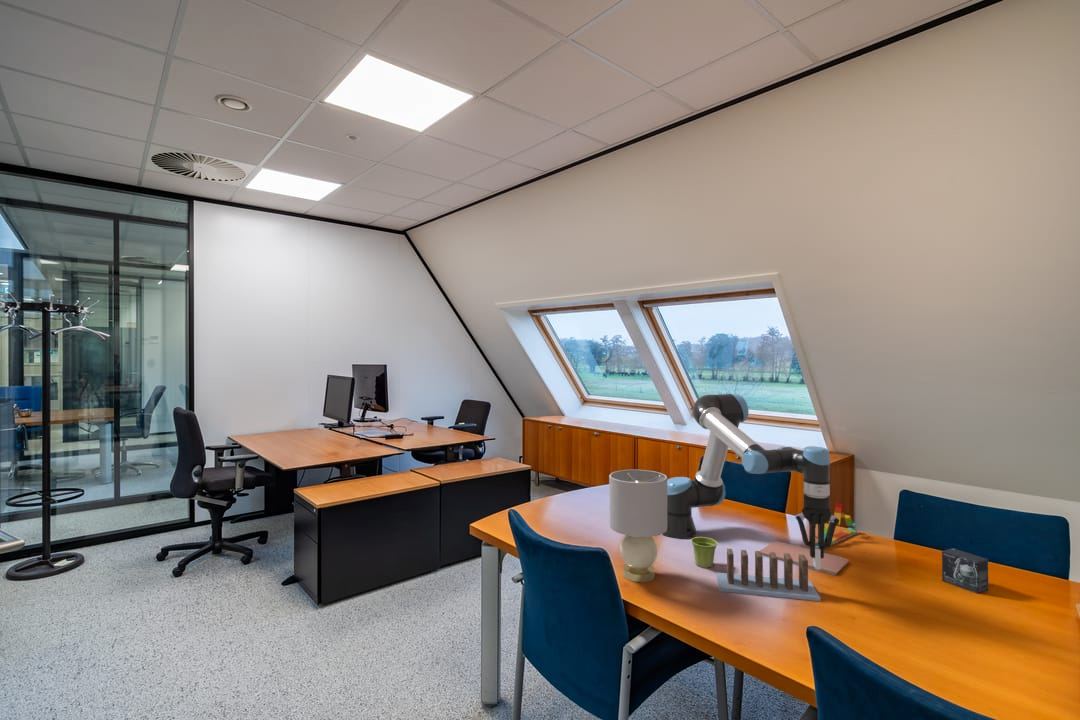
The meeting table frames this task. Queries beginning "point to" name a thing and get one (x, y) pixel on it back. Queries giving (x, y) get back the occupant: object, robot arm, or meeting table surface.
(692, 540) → the plant pot
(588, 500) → the meeting table surface
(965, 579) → the box
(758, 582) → the domino
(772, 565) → the domino
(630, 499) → the lamp
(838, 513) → the toy brick structure
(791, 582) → the domino
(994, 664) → the meeting table surface
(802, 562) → the domino
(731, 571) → the domino
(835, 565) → the notebook
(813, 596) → the strip board
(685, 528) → the robot arm
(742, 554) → the domino
